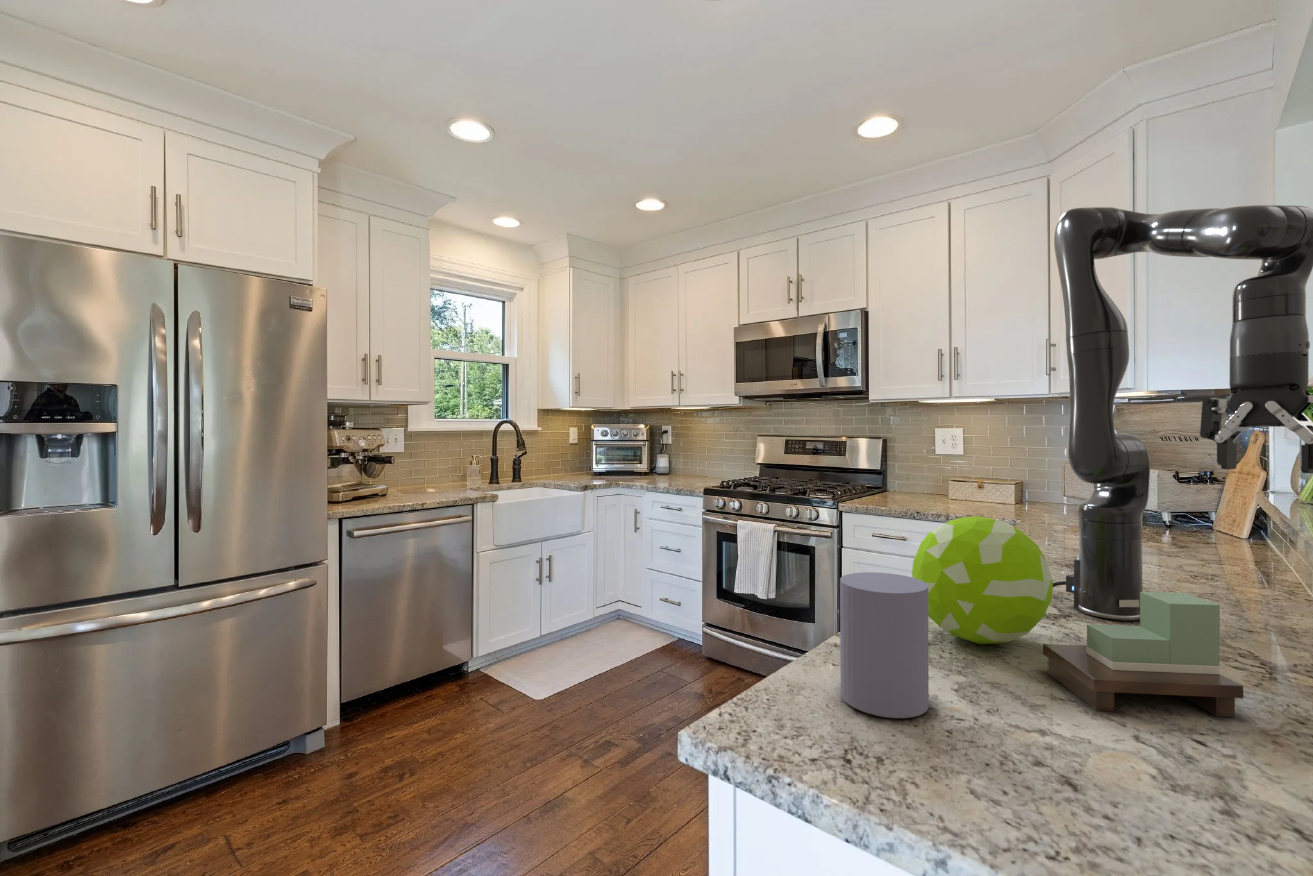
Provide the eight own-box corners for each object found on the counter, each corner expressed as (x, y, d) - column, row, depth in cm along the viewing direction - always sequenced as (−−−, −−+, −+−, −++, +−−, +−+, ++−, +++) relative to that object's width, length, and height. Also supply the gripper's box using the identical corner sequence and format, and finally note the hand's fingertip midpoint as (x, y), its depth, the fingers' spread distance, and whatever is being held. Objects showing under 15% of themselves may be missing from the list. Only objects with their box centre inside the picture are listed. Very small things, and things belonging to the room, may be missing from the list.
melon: (1074, 635, 97) (1074, 514, 97) (1025, 678, 80) (1025, 532, 80) (948, 609, 112) (948, 504, 112) (885, 640, 95) (885, 517, 95)
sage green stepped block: (1185, 657, 77) (1185, 592, 77) (1220, 674, 72) (1220, 605, 72) (1086, 653, 79) (1086, 590, 79) (1112, 670, 73) (1112, 602, 73)
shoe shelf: (1094, 712, 71) (1094, 679, 71) (1042, 672, 83) (1042, 643, 82) (1243, 719, 69) (1243, 685, 69) (1168, 677, 80) (1168, 648, 80)
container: (887, 728, 67) (887, 597, 67) (823, 693, 76) (822, 578, 76) (947, 708, 72) (947, 586, 72) (880, 677, 81) (879, 569, 81)
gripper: (1188, 358, 86) (1188, 468, 86) (1324, 344, 73) (1323, 475, 73) (1221, 360, 89) (1221, 467, 89) (1358, 346, 75) (1357, 473, 75)
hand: (1267, 471), depth 81 cm, fingers open, 8 cm apart
